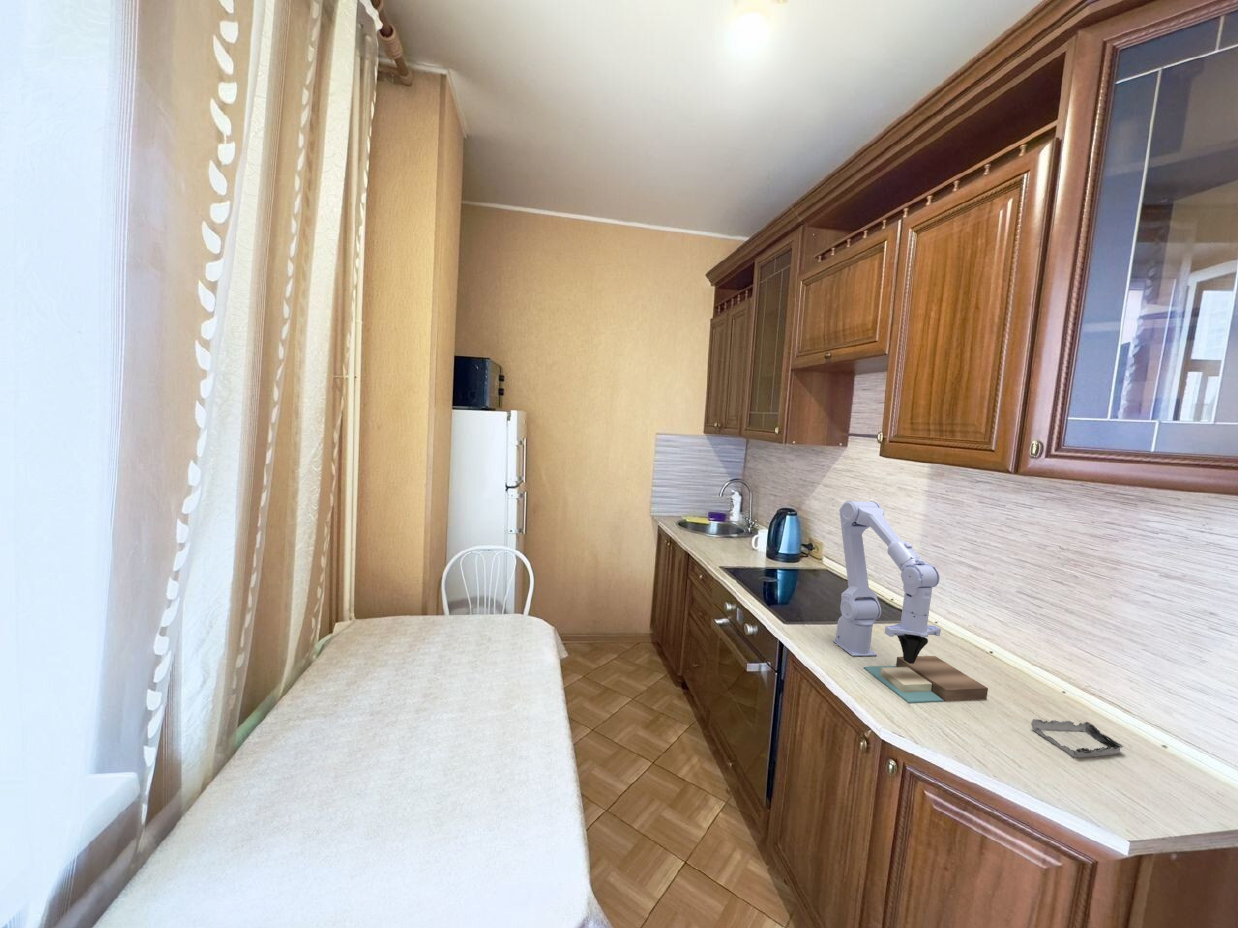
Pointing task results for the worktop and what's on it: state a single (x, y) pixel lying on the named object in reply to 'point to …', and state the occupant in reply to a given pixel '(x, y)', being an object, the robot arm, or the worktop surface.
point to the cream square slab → (906, 679)
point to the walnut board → (946, 679)
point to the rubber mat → (907, 696)
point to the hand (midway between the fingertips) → (908, 661)
